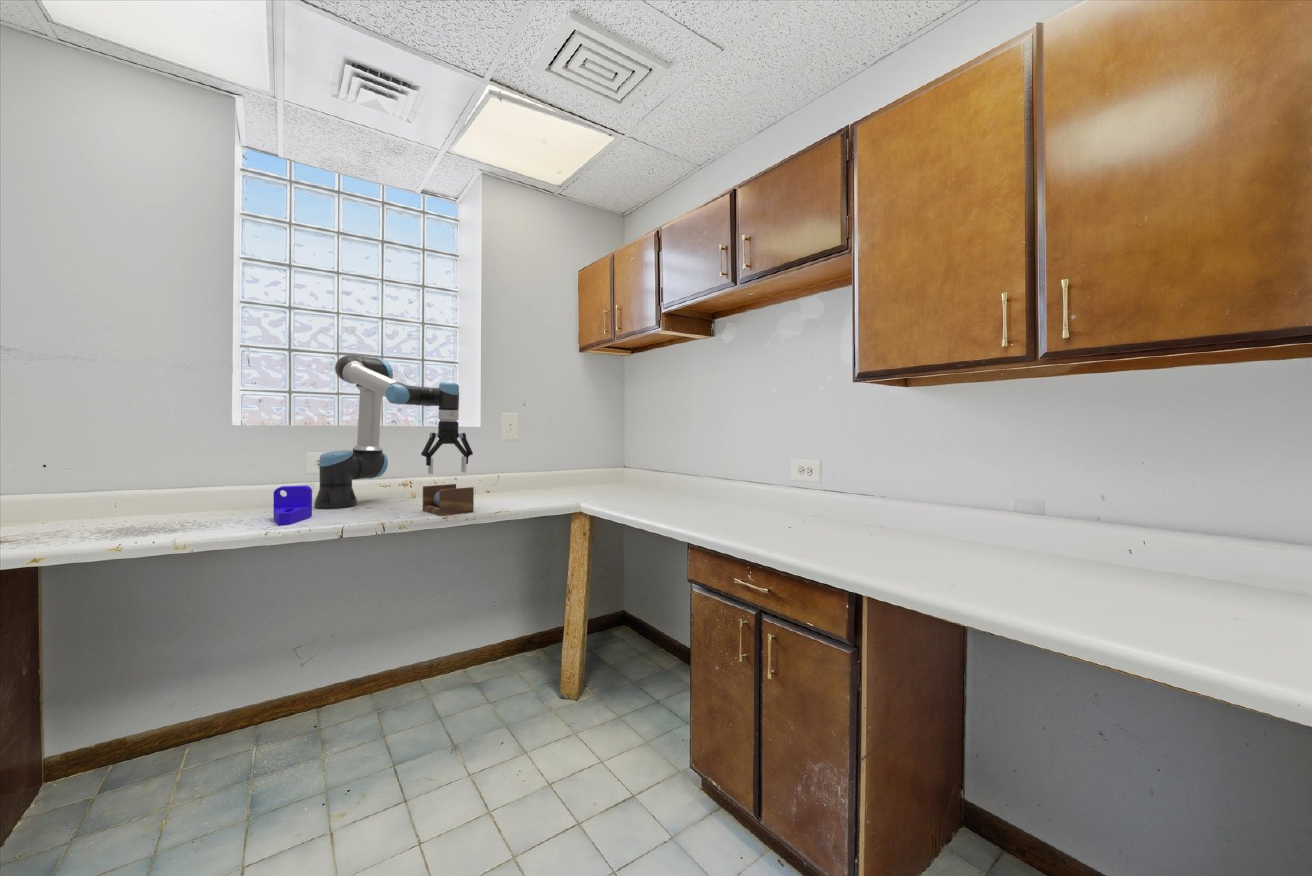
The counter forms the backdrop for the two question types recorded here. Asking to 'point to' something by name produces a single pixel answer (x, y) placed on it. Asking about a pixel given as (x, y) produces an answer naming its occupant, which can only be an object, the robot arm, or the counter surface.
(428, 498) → the cradle
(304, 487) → the bracket
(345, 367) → the robot arm
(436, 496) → the towel roll
